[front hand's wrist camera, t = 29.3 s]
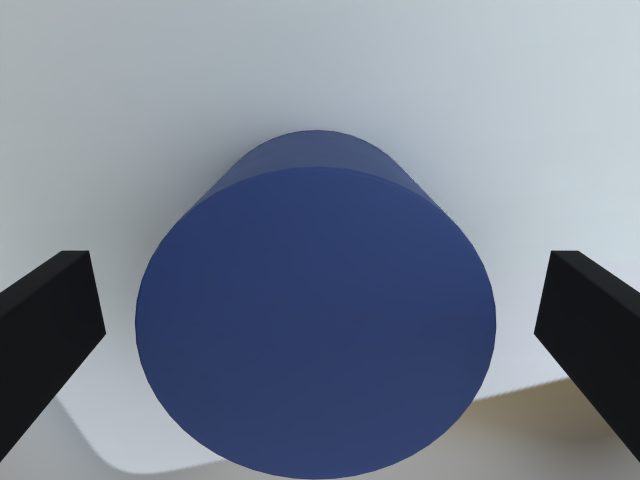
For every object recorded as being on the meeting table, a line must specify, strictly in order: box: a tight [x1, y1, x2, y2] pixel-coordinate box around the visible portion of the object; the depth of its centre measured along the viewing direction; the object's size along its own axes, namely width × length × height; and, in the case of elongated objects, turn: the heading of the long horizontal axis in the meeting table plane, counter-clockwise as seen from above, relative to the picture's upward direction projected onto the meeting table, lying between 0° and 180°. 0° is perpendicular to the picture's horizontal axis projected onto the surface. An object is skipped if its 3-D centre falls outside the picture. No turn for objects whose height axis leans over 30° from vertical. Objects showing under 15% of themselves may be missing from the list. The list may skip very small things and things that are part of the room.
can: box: [135, 130, 496, 479], centre depth 14 cm, size 9×9×8 cm
